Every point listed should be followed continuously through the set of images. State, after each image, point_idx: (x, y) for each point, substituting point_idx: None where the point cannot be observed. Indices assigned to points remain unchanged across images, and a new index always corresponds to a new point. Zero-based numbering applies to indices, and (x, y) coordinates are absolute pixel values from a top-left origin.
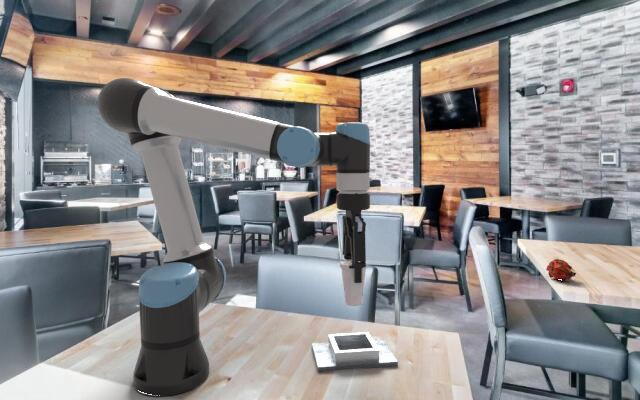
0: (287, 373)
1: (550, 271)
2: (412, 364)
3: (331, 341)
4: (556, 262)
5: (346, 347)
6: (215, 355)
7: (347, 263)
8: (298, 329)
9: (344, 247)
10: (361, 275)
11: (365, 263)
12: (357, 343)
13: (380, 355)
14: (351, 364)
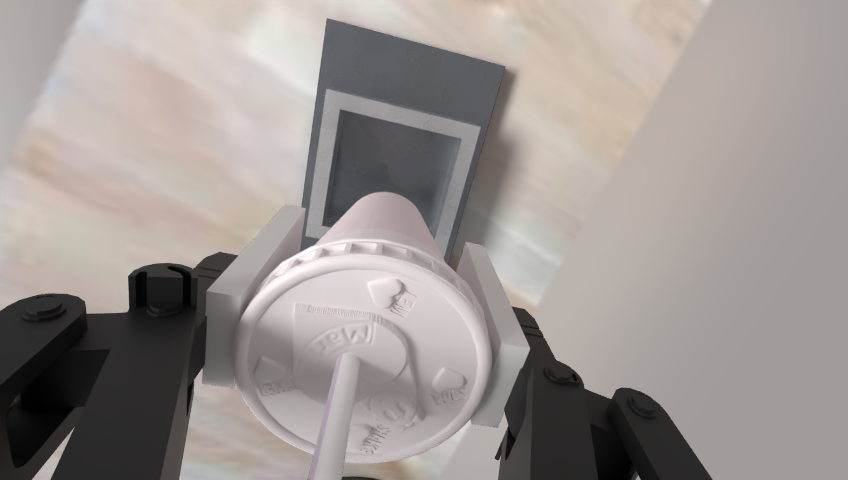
0: None
1: None
2: (514, 10)
3: None
4: None
5: (352, 180)
6: (277, 462)
7: (368, 418)
8: (144, 259)
9: (37, 464)
10: (545, 342)
11: (673, 425)
12: (340, 135)
13: (444, 100)
14: (460, 211)
